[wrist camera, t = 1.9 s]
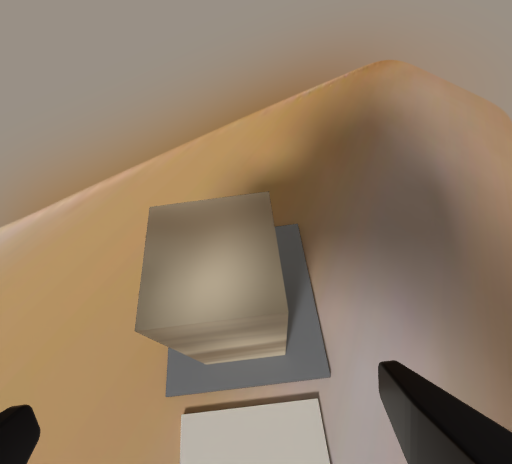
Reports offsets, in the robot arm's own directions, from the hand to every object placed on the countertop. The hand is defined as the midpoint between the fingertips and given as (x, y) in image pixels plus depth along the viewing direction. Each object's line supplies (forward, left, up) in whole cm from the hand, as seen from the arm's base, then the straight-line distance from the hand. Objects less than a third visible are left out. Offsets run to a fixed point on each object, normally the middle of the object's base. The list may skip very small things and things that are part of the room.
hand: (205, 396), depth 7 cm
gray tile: (+5, -3, -11) cm, 13 cm away
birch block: (+4, -3, -11) cm, 12 cm away
